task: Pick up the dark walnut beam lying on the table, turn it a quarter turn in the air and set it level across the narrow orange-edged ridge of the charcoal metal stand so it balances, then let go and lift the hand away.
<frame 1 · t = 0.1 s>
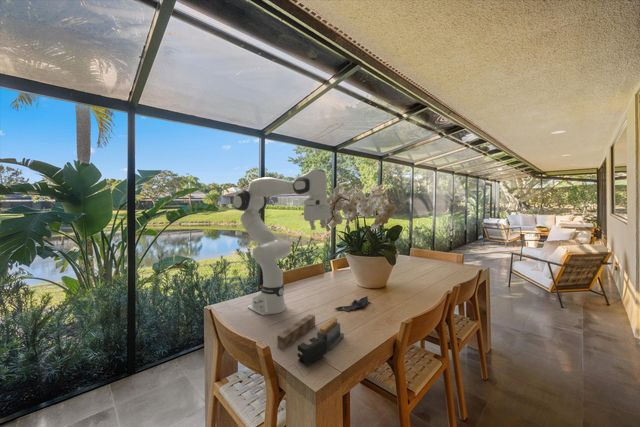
hand: (318, 228, 130), 48 cm above the table, tool pointing down, fingers open, 8 cm apart
fulcrum stand: (329, 340, 114), on the table
decorative bat: (357, 307, 152), on the table
walnut beam: (297, 335, 120), on the table
end cap: (312, 360, 101), on the table
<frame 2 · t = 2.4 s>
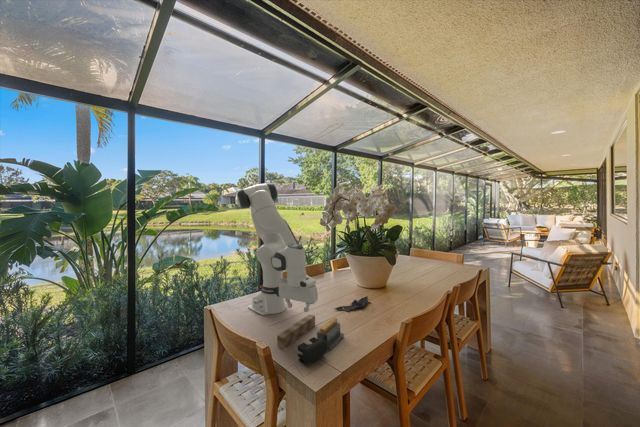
hand: (298, 309, 119), 12 cm above the table, tool pointing down, fingers open, 8 cm apart
nothing on the table moved.
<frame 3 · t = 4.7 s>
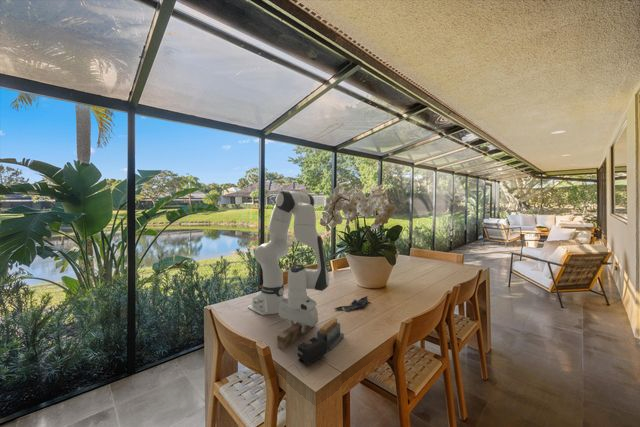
hand: (297, 330, 120), 2 cm above the table, tool pointing down, fingers closed on walnut beam, 3 cm apart
walnut beam: (297, 335, 120), on the table, touching gripper
everything else where it was.
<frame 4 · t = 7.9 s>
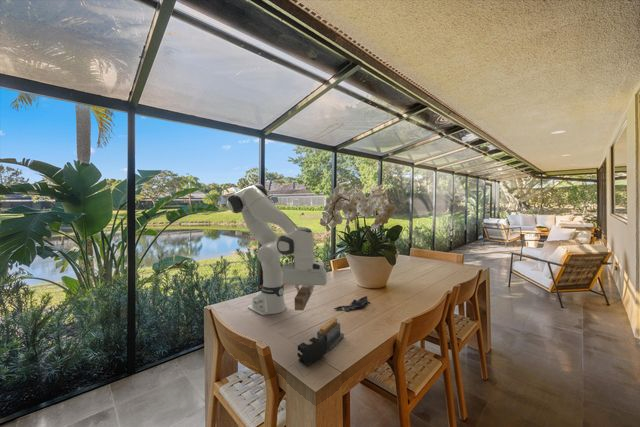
hand: (304, 294, 116), 20 cm above the table, tool pointing down, fingers closed on walnut beam, 3 cm apart
walnut beam: (304, 299, 117), point 18 cm above the table, touching gripper
everything else where it was.
when the fingers open (11 cm above the table, at t = 10.9 s): walnut beam stays where it is, resting on fulcrum stand.
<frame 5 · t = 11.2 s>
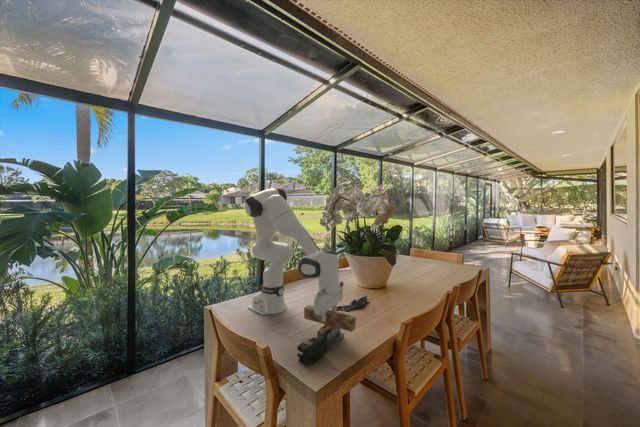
hand: (328, 317, 114), 11 cm above the table, tool pointing down, fingers open, 6 cm apart
walnut beam: (328, 323, 114), point 8 cm above the table, touching fulcrum stand
everything else where it was.
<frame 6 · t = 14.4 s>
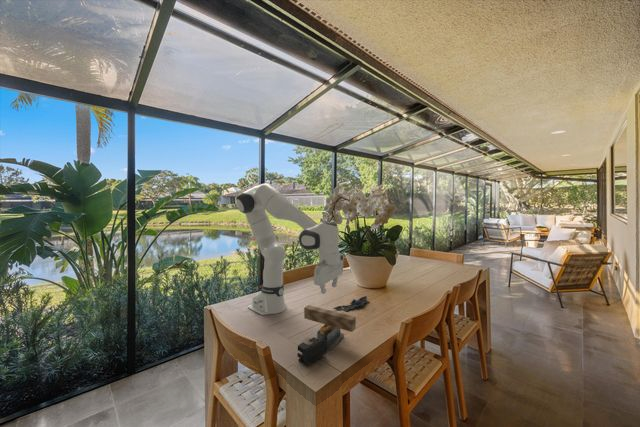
hand: (329, 289, 113), 23 cm above the table, tool pointing down, fingers open, 8 cm apart
nothing on the table moved.
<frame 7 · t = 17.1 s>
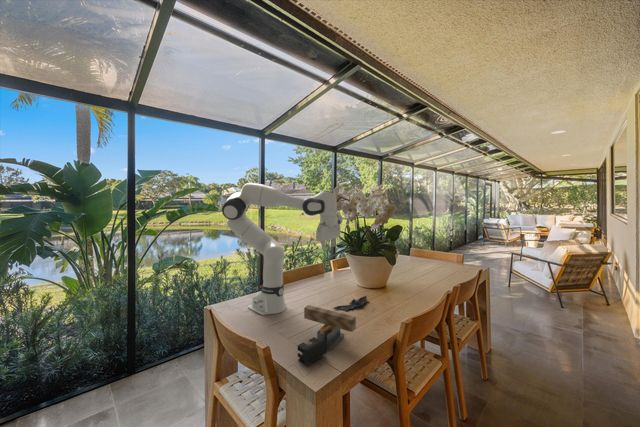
hand: (328, 247, 137), 37 cm above the table, tool pointing down, fingers open, 8 cm apart
at the end: walnut beam 0.1 cm off-centre on the fulcrum stand, point 8.0 cm above the fulcrum stand's base; walnut beam tilted 0°; walnut beam touching fulcrum stand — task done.
